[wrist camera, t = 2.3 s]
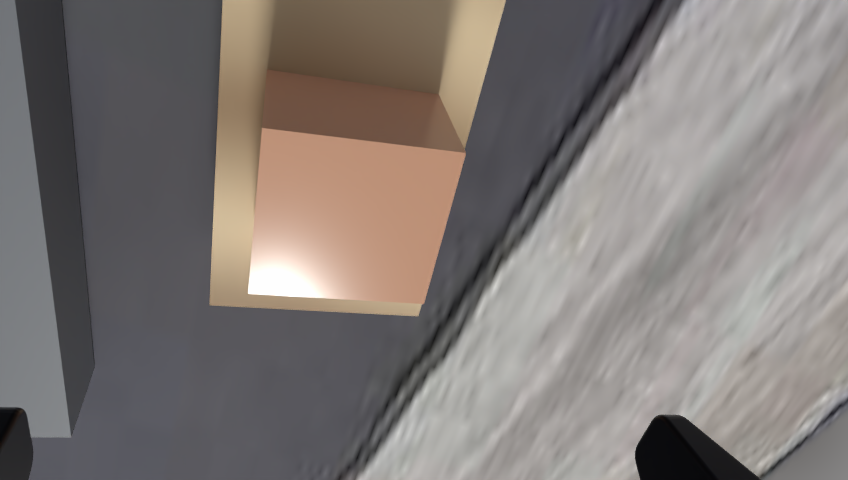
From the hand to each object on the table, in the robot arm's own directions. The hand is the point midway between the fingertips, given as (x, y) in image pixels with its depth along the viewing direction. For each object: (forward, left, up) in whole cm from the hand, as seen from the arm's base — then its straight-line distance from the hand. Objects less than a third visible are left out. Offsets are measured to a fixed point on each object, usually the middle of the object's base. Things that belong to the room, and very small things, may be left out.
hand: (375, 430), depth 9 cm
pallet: (0, 0, -12) cm, 12 cm away
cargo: (0, 0, -8) cm, 8 cm away
